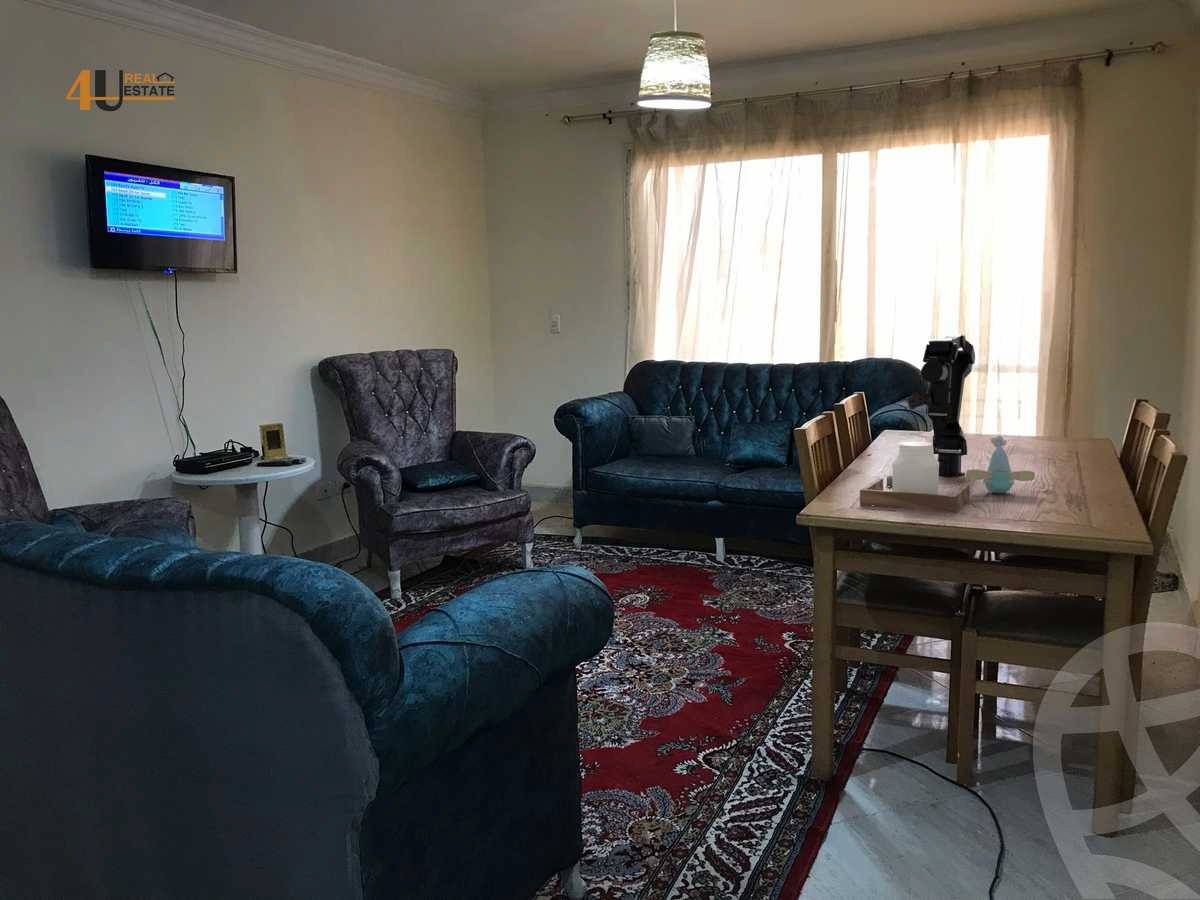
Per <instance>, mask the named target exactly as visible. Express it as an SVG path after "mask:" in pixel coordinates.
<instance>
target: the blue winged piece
mask: <svg viewBox="0 0 1200 900" xmlns="http://www.w3.org/2000/svg"><path fill="white" fill-rule="evenodd" d="M990 442H991V443H992V444H993V446H994V447H995V450H994V451H993V453H992V454H991V456H990V460H989V464H988V467H987V470H983V469H973V468H972V469H968V470H966V471H965V477H966V479H968V480H974V481H977V480H979V481H980V480H983V482H982V483H983V484H984V486H985V488H986V489H987V490H988V491H990V492H991V493H993V494H1005V493H1007V492H1008V491H1010V490H1011V489H1012V487H1013V485H1014V484H1015V481H1019V482H1020V481H1021V482H1031V481H1034V480H1035V477H1036V474H1035V472H1034V471H1032V470H1012V469H1011V466H1010V463H1009V459H1008V455H1007V452H1006V451H1005V450H1004V449H1003V447H1004V446H1006V445H1007V444H1008V443H1007V440H1006V439H1004V438H1003V436H1002V435H1001V434H1000V435H997V436H996V437H995V436H993V437H992V438H990Z"/></svg>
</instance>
